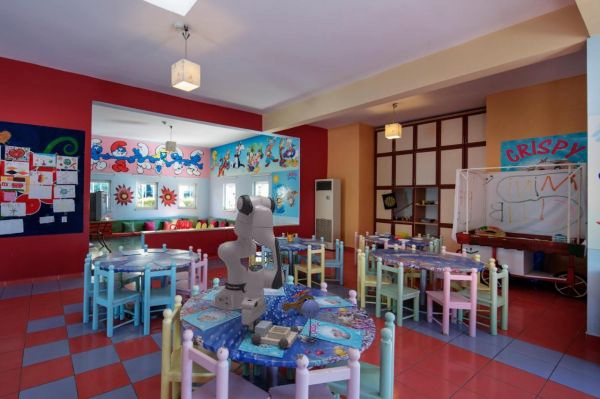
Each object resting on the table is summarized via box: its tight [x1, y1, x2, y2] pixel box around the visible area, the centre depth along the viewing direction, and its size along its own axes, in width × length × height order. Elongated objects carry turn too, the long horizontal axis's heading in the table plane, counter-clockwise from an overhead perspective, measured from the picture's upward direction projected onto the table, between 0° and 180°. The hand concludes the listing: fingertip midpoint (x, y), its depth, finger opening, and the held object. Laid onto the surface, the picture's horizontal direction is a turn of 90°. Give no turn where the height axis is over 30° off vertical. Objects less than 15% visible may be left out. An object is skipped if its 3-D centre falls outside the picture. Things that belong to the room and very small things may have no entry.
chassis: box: [250, 319, 299, 350], centre depth 145 cm, size 18×16×6 cm
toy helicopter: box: [281, 288, 316, 316], centre depth 175 cm, size 8×21×14 cm, turn 122°
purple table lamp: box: [301, 299, 321, 341], centre depth 146 cm, size 9×9×18 cm
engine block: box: [247, 318, 262, 333], centre depth 153 cm, size 5×4×6 cm
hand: (254, 327), depth 153 cm, fingers closed on engine block, 4 cm apart
